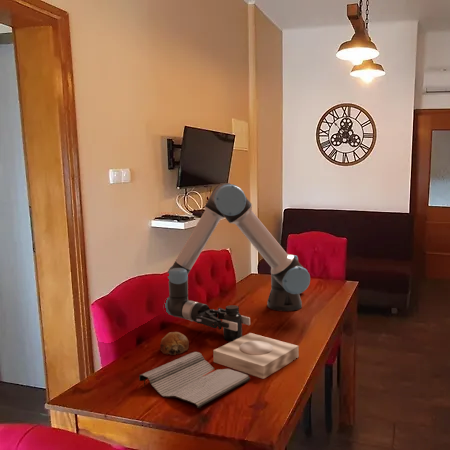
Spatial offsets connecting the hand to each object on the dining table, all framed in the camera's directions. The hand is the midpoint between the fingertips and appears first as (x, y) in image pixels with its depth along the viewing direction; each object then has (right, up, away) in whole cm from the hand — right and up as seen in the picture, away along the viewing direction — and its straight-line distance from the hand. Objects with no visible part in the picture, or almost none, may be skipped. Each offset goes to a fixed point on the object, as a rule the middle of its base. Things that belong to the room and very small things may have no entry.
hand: (243, 324), depth 176 cm
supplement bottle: (-4, -6, +4) cm, 8 cm away
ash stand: (+4, -9, -15) cm, 18 cm away
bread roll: (-24, -8, -5) cm, 26 cm away
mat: (-15, -12, -31) cm, 37 cm away
